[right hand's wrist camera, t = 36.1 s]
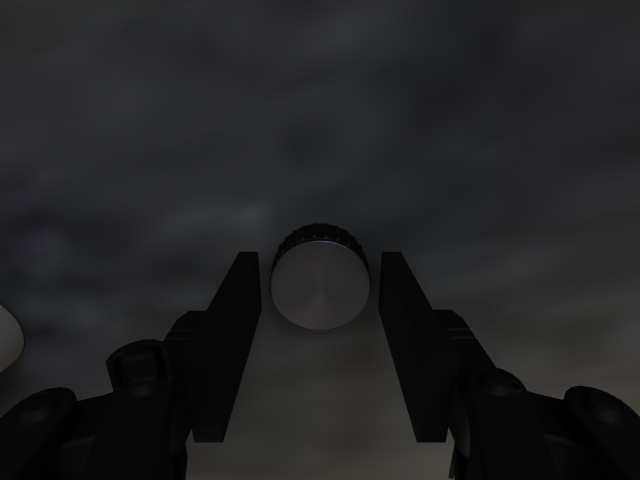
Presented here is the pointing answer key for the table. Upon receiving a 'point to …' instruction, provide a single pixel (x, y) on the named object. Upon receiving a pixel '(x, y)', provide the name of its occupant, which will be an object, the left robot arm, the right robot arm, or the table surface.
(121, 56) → the table surface
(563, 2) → the table surface
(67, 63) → the table surface
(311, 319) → the cap
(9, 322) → the bottle
